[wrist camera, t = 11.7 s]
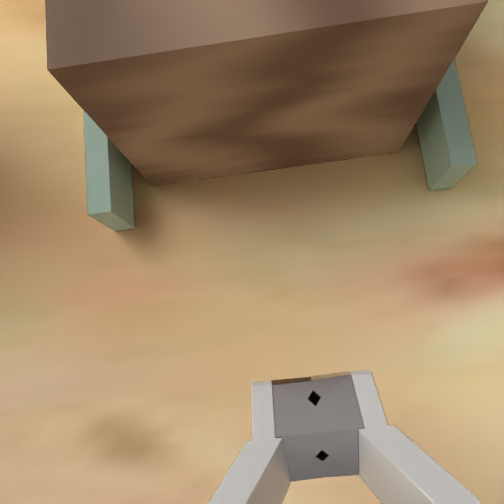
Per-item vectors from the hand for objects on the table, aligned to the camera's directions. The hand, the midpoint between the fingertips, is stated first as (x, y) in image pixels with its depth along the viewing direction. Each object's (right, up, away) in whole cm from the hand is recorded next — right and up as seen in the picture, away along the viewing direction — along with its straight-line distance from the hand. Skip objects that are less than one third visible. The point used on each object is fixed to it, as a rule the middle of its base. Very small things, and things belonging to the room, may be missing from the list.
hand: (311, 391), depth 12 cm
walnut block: (-1, +13, +12) cm, 18 cm away
